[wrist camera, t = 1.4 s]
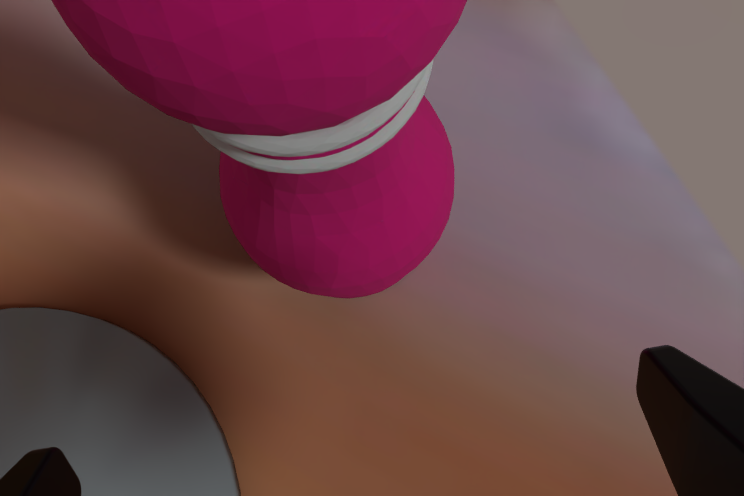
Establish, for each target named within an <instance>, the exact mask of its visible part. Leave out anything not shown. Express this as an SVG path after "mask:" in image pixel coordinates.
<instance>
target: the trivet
mask: <svg viewBox="0 0 744 496" xmlns="http://www.w3.org/2000/svg"><path fill="white" fill-rule="evenodd" d="M49 447H57V448H59V449H60V450H61V451H62V452H63V453H64V455H65V457H66V458H67V460H68V462H69V463H70V465H71V466H72V468H73V470H74V471H75V473H76V475H77V476H78V478H79V480H80V483H81V496H241V492H240V487H239V483H238V478H237V473H236V469H235V464H234V460H233V457H232V455H231V452H230V449H229V446H228V443H227V441H226V438H225V435H224V432H223V430H222V428H221V426H220V424H219V422H218V421H217V419H216V417H215V415H214V413H213V411H212V409H211V407H210V405H209V404H208V402H207V401H206V400H205V398H204V397H203V395H202V394H201V392H200V391H199V390H198V388H197V387H196V385H195V384H194V383H193V381H192V380H191V379H190V378H189V377H188V376H187V375H186V374H185V373H184V372H183V371H182V370H181V368H180V367H179V366H178V365H177V364H176V363H175V362H174V361H173V360H171V359H170V358H169V357H168V356H166V355H165V354H164V353H163V352H161V351H160V350H159V349H158V348H157V347H155V346H154V345H153V344H151V343H149V342H148V341H146V340H144V339H143V338H141V337H139V336H138V335H136V334H134V333H133V332H131V331H129V330H127V329H124V328H122V327H120V326H117V325H115V324H113V323H110V322H108V321H106V320H102V319H98V318H94V317H91V316H87V315H83V314H79V313H75V312H71V311H64V310H56V309H48V308H9V309H2V310H0V479H1V478H2V477H3V476H4V475H5V474H6V473H7V472H8V471H9V470H10V469H11V468H12V467H13V466H14V465H15V464H16V463H17V462H18V461H19V460H20V459H21V458H22V457H23V456H24V455H25V454H27V453H28V452H30V451H32V450H37V449H43V448H49Z"/></svg>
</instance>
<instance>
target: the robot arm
mask: <svg viewBox="0 0 744 496" xmlns="http://www.w3.org/2000/svg"><path fill="white" fill-rule="evenodd" d="M636 391H637V397H638V400H639V403H640V406H641V408H642V411H643V413H644V415H645V418H646V420H647V423H648V425H649V428H650V430H651V432H652V435H653V437H654V440H655V442H656V445H657V447H658V449H659V452H660V454H661V457H662V459H663V461H664V464H665V466H666V469H667V471H668V474H669V476H670V478H671V481H672V483H673V485H674V487H675V490H676V492H677V494H678V496H744V389H743V388H742V387H740V386H738V385H737V384H735V383H733V382H731V381H730V380H728V379H726V378H725V377H723V376H721V375H720V374H718V373H716V372H715V371H713V370H711V369H710V368H708V367H706V366H705V365H703V364H701V363H700V362H698V361H696V360H695V359H693V358H691V357H690V356H688V355H686V354H685V353H683V352H681V351H680V350H678V349H676V348H675V347H672V346H669V345H664V346H658V347H652V348H646V349H644V350H643V351H642V352H641V355H640V360H639V368H638V376H637V385H636ZM0 496H81V483H80V480H79V478H78V476H77V475H76V473H75V471H74V470H73V468H72V466H71V465H70V463H69V462H68V460H67V458H66V457H65V455H64V453H63V452H62V451H61V450H60V449H59V448H57V447H49V448H43V449H37V450H32V451H30V452H28V453H27V454H25V455H24V456H23V457H22V458H21V459H20V460H19V461H18V462H17V463H16V464H15V465H14V466H13V467H12V468H11V469H10V470H9V471H8V472H7V473H6V474H5V475H4V476H3V477H2V478H1V479H0Z"/></svg>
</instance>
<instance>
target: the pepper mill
mask: <svg viewBox="0 0 744 496" xmlns="http://www.w3.org/2000/svg"><path fill="white" fill-rule="evenodd" d="M52 2H53V4H54V5H55V7H56V8H57V10H58V12H59V13H60V15H61V17H62V18H63V20H64V21H65V23H66V25H67V26H68V28H69V29H70V30H71V31H72V33H73V34H74V35H75V37H76V38H77V39H78V41H79V42H80V43H81V44H82V46H83V47H84V48H85V50H86V51H87V52H88V54H89V55H90V56H91V57H92V58H93V59H94V60H95V61H96V62H97V63H98V64H100V65H101V66H102V67H103V68H104V69H105V70H106V71H107V72H108V73H109V74H110V75H112V76H113V77H114V78H115V79H116V80H117V81H118V82H119V83H120V84H121V85H122V86H123V87H125V88H126V89H127V90H128V91H130V92H131V93H133V94H135V95H136V96H138V97H139V98H141V99H143V100H144V101H146V102H147V103H149V104H151V105H152V106H154V107H155V108H157V109H159V110H160V111H162V112H164V113H165V114H167V115H169V116H172V117H175V118H177V119H180V120H183V121H186V122H188V123H191V124H192V125H193V127H194V128H195V129H196V130H197V131H198V132H199V133H200V134H201V136H202V137H203V138H204V139H205V140H206V141H207V142H209V143H210V144H211V145H213V146H214V147H215V148H217V149H218V150H220V151H221V154H220V165H219V175H220V196H221V200H222V204H223V207H224V211H225V215H226V218H227V220H228V222H229V224H230V226H231V228H232V230H233V232H234V234H235V236H236V237H237V239H238V241H239V242H240V244H241V245H242V246H243V248H244V249H245V251H246V252H247V253H248V255H249V256H250V257H251V259H252V260H253V261H254V262H256V263H257V264H258V265H259V266H260V267H261V268H262V269H263V270H264V271H265V272H267V273H268V274H269V275H271V276H272V277H274V278H275V279H276V280H278V281H280V282H282V283H284V284H286V285H288V286H290V287H292V288H294V289H297V290H300V291H304V292H307V293H310V294H316V295H323V296H331V297H336V298H355V297H362V296H368V295H371V294H374V293H378V292H381V291H383V290H384V289H386V288H388V287H390V286H392V285H393V284H395V283H397V282H398V281H399V280H400V279H402V278H403V277H404V276H405V275H406V274H408V273H409V272H410V271H412V270H413V269H414V268H416V267H417V266H418V265H419V264H420V263H421V262H422V261H423V259H424V258H425V257H426V256H427V255H428V254H429V253H430V252H431V250H432V249H433V247H434V246H435V244H436V243H437V242H438V240H439V239H440V237H441V234H442V232H443V230H444V228H445V226H446V224H447V221H448V219H449V215H450V211H451V207H452V202H453V197H454V164H453V157H452V150H451V145H450V143H449V140H448V137H447V134H446V132H445V129H444V126H443V125H442V123H441V121H440V119H439V118H438V116H437V114H436V112H435V111H434V109H433V108H432V106H431V104H430V103H429V101H428V100H427V99H426V97H425V96H424V93H425V90H426V87H427V84H428V81H429V77H430V74H431V70H432V66H433V58H434V57H435V55H436V54H437V52H438V51H439V49H440V48H441V46H442V45H443V43H444V42H445V41H446V39H447V38H448V36H449V35H450V33H451V32H452V30H453V29H454V27H455V26H456V24H457V23H458V21H459V18H460V16H461V14H462V11H463V9H464V6H465V4H466V2H467V0H52Z"/></svg>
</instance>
